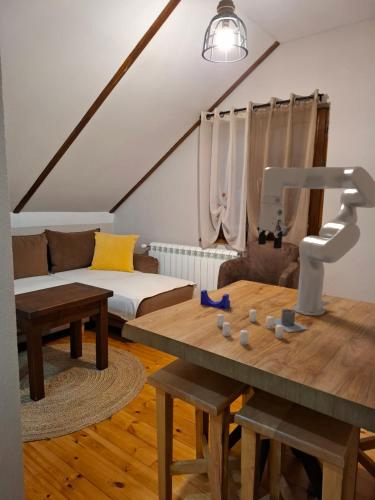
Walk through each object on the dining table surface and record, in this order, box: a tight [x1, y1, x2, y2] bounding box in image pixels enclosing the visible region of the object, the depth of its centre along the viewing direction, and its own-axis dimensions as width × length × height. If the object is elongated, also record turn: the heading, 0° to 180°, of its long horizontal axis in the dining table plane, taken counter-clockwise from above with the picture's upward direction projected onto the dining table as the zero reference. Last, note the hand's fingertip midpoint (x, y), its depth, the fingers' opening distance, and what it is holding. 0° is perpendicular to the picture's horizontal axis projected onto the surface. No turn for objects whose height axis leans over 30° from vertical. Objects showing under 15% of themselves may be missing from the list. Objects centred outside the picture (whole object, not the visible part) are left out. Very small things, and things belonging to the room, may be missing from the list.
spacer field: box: [216, 309, 284, 346], centre depth 122 cm, size 21×19×4 cm
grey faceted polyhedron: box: [280, 308, 296, 327], centre depth 128 cm, size 5×4×5 cm
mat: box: [274, 317, 309, 334], centre depth 129 cm, size 9×12×1 cm
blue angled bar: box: [199, 289, 231, 310], centre depth 149 cm, size 12×4×6 cm, turn 59°
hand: (269, 246), depth 132 cm, fingers open, 9 cm apart
